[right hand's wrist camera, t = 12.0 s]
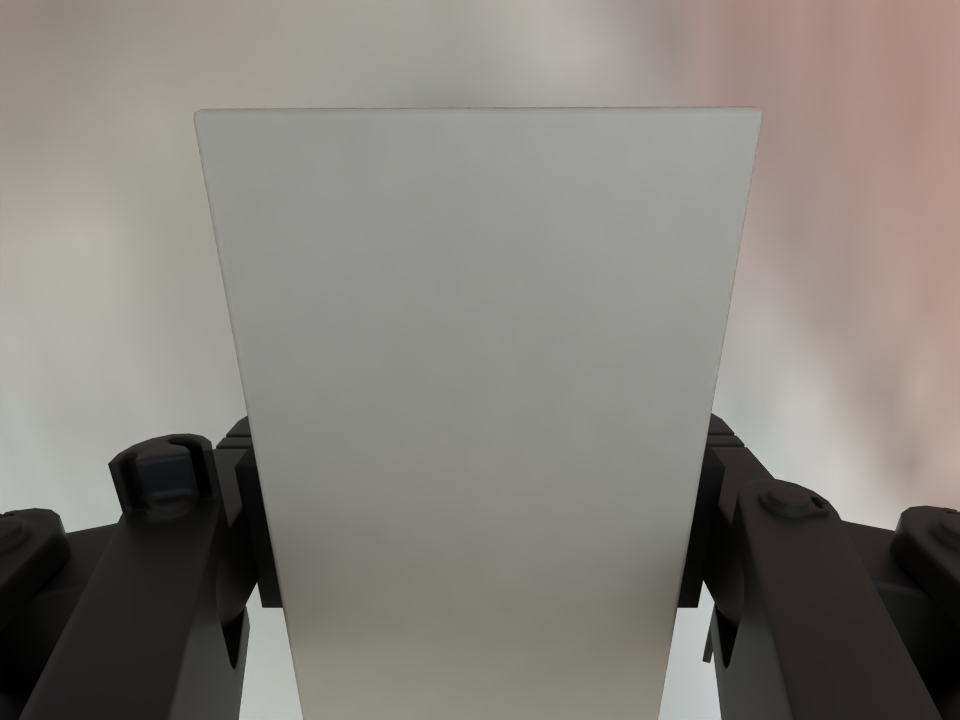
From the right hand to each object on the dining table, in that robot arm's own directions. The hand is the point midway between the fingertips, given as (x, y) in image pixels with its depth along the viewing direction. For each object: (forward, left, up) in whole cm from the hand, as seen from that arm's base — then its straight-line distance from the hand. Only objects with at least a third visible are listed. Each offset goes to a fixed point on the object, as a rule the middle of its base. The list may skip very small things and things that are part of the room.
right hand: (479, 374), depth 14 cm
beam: (+23, -5, -1) cm, 24 cm away
